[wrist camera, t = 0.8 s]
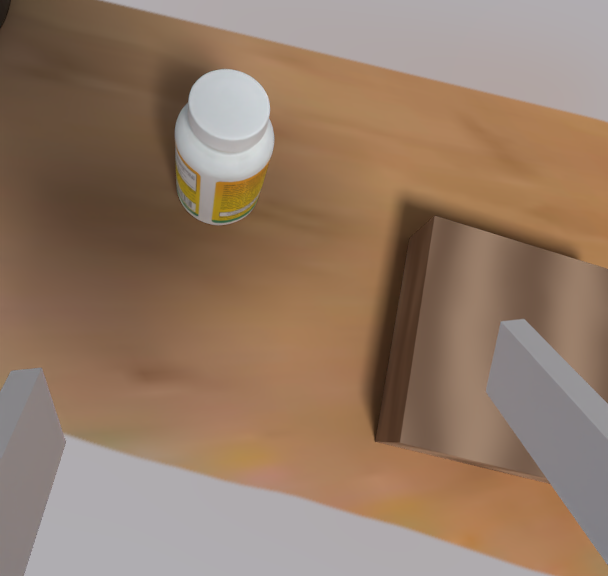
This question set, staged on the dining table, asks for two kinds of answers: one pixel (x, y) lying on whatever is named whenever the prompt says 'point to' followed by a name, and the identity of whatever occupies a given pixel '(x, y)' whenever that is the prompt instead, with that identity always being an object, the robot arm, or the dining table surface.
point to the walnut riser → (482, 339)
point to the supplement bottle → (223, 146)
